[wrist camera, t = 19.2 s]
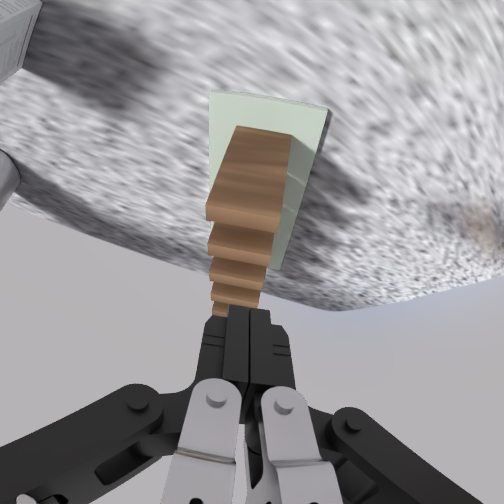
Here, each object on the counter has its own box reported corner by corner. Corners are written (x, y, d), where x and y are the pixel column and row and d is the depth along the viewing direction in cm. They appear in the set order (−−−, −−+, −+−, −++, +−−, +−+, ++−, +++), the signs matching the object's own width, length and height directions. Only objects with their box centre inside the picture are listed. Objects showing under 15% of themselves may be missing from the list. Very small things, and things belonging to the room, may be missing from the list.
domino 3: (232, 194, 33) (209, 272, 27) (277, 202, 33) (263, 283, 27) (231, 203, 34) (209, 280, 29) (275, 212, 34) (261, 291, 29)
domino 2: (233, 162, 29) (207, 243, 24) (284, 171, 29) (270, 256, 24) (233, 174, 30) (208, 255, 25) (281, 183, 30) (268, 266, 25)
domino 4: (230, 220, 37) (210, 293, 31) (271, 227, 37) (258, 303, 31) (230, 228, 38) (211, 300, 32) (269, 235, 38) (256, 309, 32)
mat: (211, 88, 23) (209, 91, 23) (327, 108, 23) (327, 111, 23) (213, 254, 45) (212, 257, 44) (279, 266, 45) (279, 270, 44)
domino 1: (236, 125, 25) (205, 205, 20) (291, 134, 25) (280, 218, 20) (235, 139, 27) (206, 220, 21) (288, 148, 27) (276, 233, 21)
